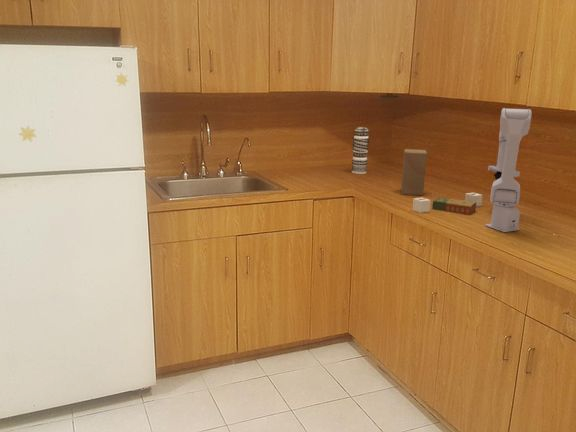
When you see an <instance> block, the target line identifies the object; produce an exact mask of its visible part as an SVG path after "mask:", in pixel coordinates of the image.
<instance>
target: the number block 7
mask: <svg viewBox="0 0 576 432" xmlns="http://www.w3.org/2000/svg"><path fill="white" fill-rule="evenodd" d="M464 196H465V197H464V201H471V202H476V208H477V207H482V203H483V196H484V195H483V194H480V193H477V192H469V193H468V192H467V193H465V195H464Z"/></svg>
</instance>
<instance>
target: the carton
mask: <svg viewBox="0 0 576 432" xmlns="http://www.w3.org/2000/svg"><path fill="white" fill-rule="evenodd" d="M431 208H432V210H437V211H442V210H443V211H444V212H448V211H449V212H450V213H456V214H461V215H462V214H463V215H468V216H470V215H472V214H473V213H475V212H476V210H477V207H476V202H471V201H465V199H463V200H461V199H456V198H448V197H441V196H439V197H437V198H435V199H434V200H433V201H432V205H431Z"/></svg>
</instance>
